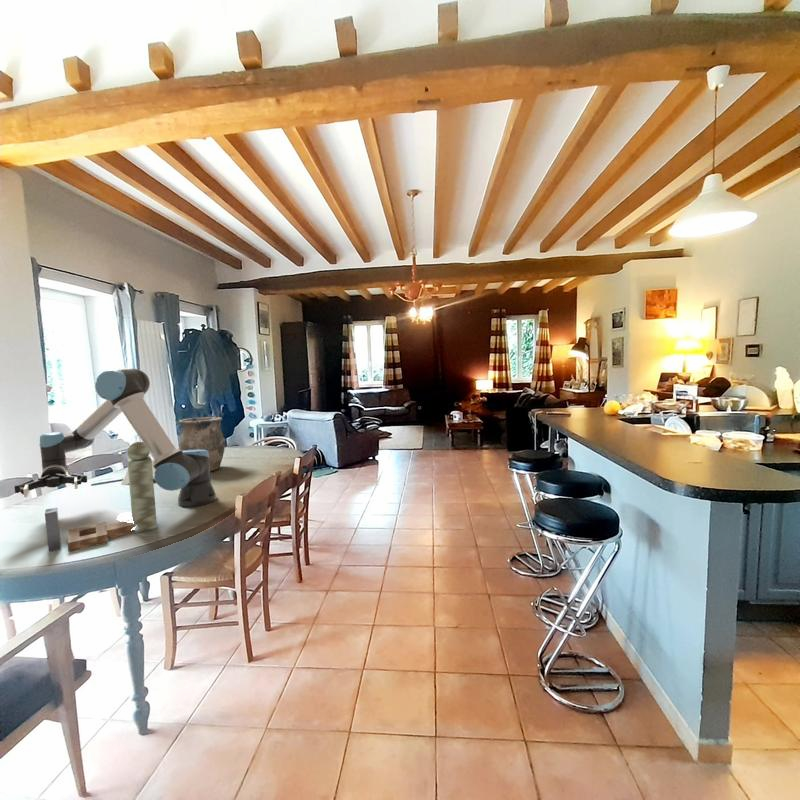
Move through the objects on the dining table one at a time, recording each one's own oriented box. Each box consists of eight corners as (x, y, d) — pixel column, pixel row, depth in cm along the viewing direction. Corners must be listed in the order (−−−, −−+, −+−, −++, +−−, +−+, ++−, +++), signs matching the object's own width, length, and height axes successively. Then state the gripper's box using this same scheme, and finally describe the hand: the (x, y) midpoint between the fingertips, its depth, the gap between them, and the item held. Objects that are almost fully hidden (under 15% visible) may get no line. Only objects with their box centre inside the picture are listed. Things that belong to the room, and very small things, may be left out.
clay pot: (234, 467, 240) (231, 416, 237) (197, 477, 220) (193, 422, 217) (210, 463, 251) (207, 414, 248) (173, 472, 231) (169, 419, 228)
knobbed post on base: (153, 519, 162) (146, 438, 159) (158, 530, 151) (151, 443, 148) (69, 537, 147) (60, 448, 143) (68, 551, 136) (58, 454, 132)
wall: (162, 487, 218) (165, 463, 228) (155, 478, 212) (158, 455, 222) (129, 494, 216) (133, 470, 225) (120, 485, 209) (125, 461, 219)
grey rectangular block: (61, 543, 142) (57, 507, 140) (60, 549, 138) (56, 511, 136) (49, 546, 140) (45, 509, 139) (48, 551, 136) (44, 513, 135)
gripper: (94, 479, 169) (96, 491, 153) (11, 491, 154) (3, 507, 137) (92, 461, 168) (94, 472, 152) (9, 472, 153) (1, 485, 136)
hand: (51, 489), depth 144 cm, fingers open, 13 cm apart
